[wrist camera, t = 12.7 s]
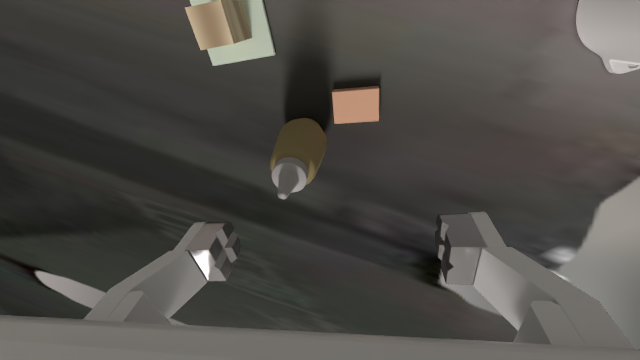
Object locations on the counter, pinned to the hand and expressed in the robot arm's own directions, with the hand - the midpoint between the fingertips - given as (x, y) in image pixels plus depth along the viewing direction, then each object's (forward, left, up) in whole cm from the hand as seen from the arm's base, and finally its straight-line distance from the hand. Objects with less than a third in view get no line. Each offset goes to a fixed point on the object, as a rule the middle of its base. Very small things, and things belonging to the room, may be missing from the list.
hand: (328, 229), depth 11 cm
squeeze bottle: (+8, +10, -35) cm, 37 cm away
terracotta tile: (-1, +6, -35) cm, 36 cm away
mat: (+15, -8, -35) cm, 39 cm away
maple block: (+15, -8, -34) cm, 38 cm away
